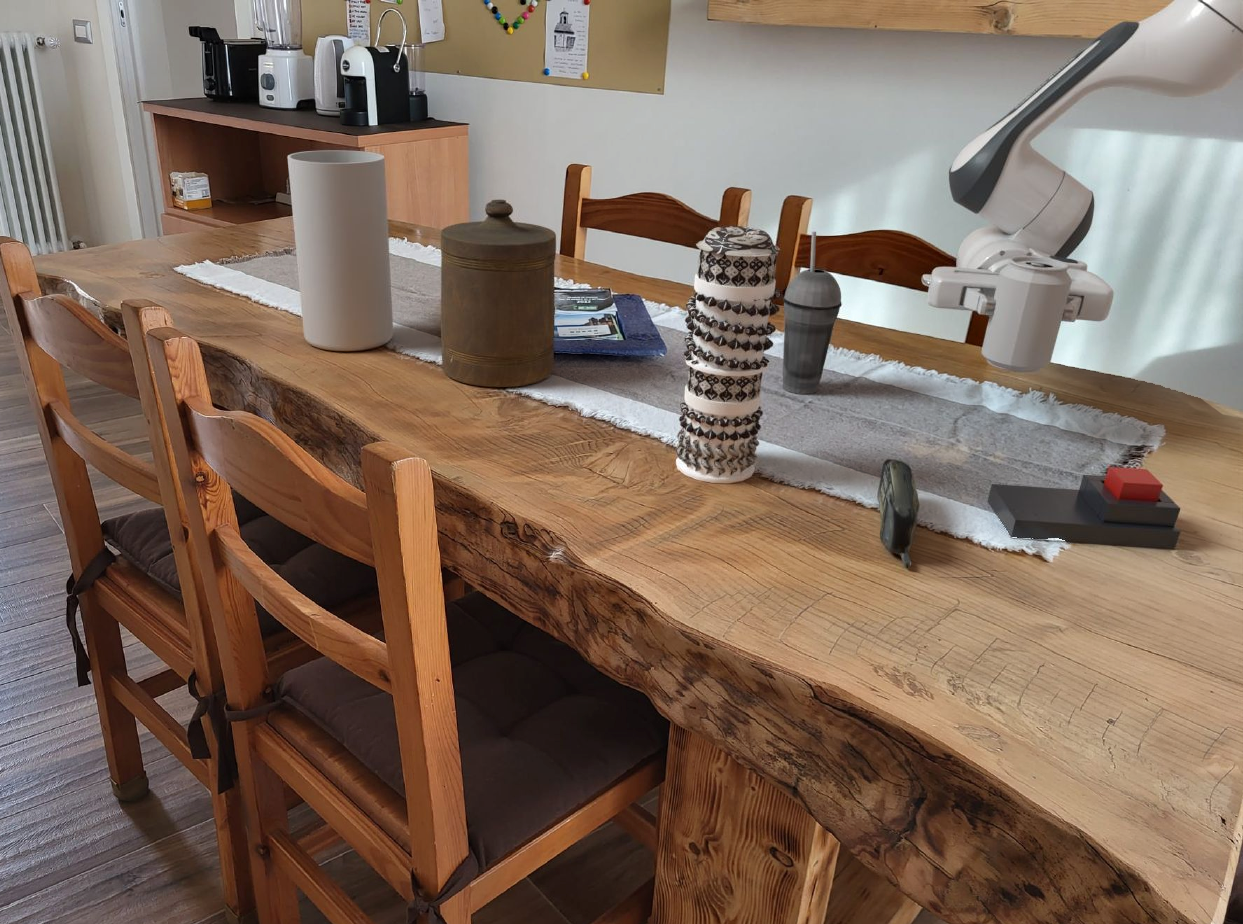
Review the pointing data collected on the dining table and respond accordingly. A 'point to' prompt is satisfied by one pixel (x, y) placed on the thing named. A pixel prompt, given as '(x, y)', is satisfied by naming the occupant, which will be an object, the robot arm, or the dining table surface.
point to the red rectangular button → (1132, 484)
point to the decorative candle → (727, 354)
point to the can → (1026, 313)
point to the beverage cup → (808, 326)
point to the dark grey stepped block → (1086, 515)
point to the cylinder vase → (342, 248)
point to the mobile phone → (898, 508)
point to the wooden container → (497, 300)
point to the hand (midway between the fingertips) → (1029, 311)
